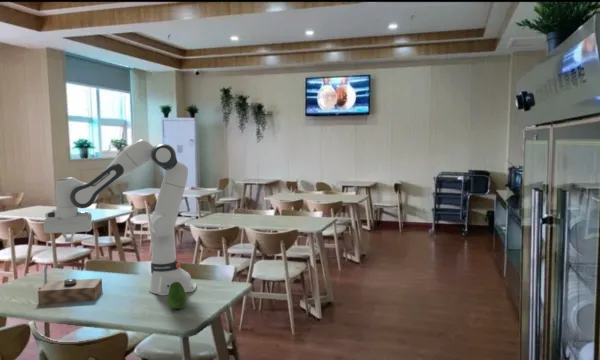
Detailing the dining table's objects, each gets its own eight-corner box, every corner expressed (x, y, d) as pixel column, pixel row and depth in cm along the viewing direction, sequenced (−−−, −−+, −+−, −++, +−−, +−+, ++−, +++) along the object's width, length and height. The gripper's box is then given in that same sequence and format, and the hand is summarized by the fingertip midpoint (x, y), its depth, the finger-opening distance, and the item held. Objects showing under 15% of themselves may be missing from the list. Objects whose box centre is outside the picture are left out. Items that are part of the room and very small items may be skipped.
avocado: (170, 305, 204) (169, 279, 203) (187, 305, 204) (187, 279, 203) (166, 312, 196) (165, 285, 195) (184, 311, 196) (184, 284, 195)
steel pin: (78, 294, 219) (77, 278, 218) (74, 297, 214) (74, 281, 213) (66, 294, 218) (66, 278, 217) (63, 298, 213) (62, 282, 212)
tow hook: (49, 285, 234) (36, 290, 225) (49, 260, 234) (36, 264, 224) (64, 286, 233) (52, 291, 224) (64, 261, 232) (52, 265, 223)
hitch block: (102, 290, 225) (101, 278, 224) (95, 300, 211) (94, 287, 211) (49, 293, 220) (48, 281, 220) (38, 303, 207) (37, 290, 206)
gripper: (92, 210, 217) (94, 238, 219) (46, 212, 213) (47, 241, 215) (89, 212, 211) (91, 241, 212) (41, 214, 207) (43, 244, 208)
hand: (69, 241), depth 213 cm, fingers closed
